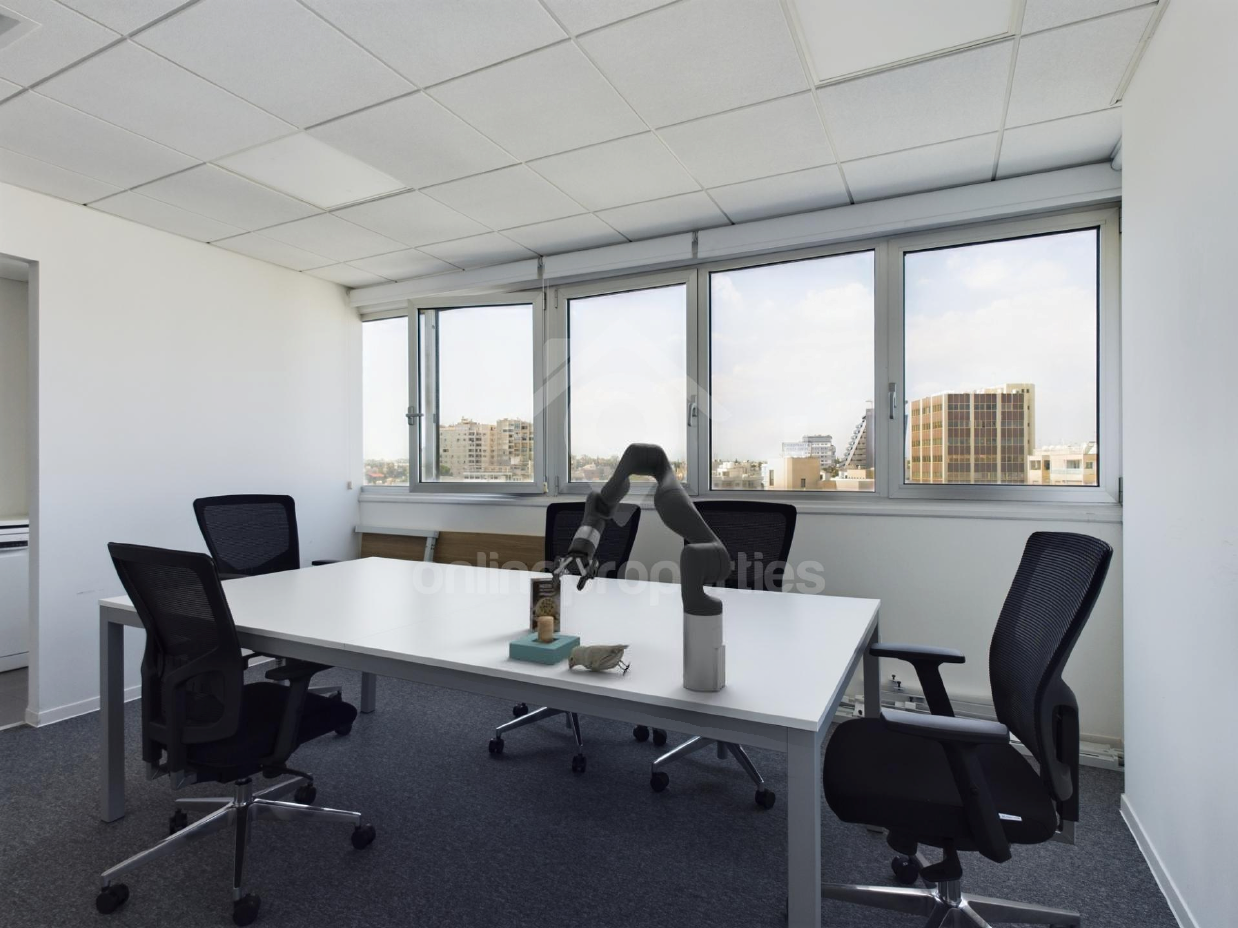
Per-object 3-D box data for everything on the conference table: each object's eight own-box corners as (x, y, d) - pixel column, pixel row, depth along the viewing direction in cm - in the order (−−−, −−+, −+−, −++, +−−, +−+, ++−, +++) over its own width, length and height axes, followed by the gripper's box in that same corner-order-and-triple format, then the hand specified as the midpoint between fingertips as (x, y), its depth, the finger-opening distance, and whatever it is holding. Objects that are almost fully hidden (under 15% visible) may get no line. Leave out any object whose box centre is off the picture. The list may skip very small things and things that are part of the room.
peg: (556, 653, 179) (556, 617, 179) (547, 657, 175) (548, 620, 175) (543, 651, 180) (543, 615, 180) (534, 655, 177) (534, 618, 177)
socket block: (580, 651, 181) (580, 636, 181) (553, 664, 168) (553, 649, 168) (537, 645, 187) (537, 631, 187) (509, 657, 174) (509, 642, 174)
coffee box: (532, 633, 201) (532, 581, 201) (529, 628, 207) (529, 577, 208) (561, 631, 204) (561, 579, 204) (557, 626, 210) (557, 576, 210)
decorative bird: (572, 666, 168) (572, 637, 168) (632, 671, 163) (632, 641, 163) (565, 672, 162) (565, 642, 163) (626, 678, 158) (627, 647, 158)
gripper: (560, 535, 199) (539, 578, 188) (601, 537, 193) (582, 582, 182) (568, 550, 204) (549, 593, 193) (609, 553, 198) (591, 597, 187)
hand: (565, 587), depth 188 cm, fingers open, 8 cm apart
